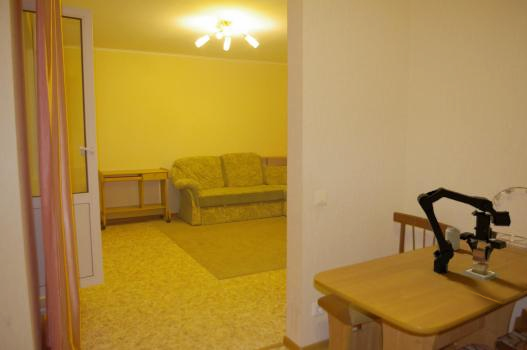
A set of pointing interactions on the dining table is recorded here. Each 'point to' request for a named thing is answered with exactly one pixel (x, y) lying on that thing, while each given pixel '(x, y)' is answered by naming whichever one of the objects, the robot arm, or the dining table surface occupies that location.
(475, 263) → the base block
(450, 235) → the can
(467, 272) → the board
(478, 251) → the top block
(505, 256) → the dining table surface
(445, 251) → the robot arm
